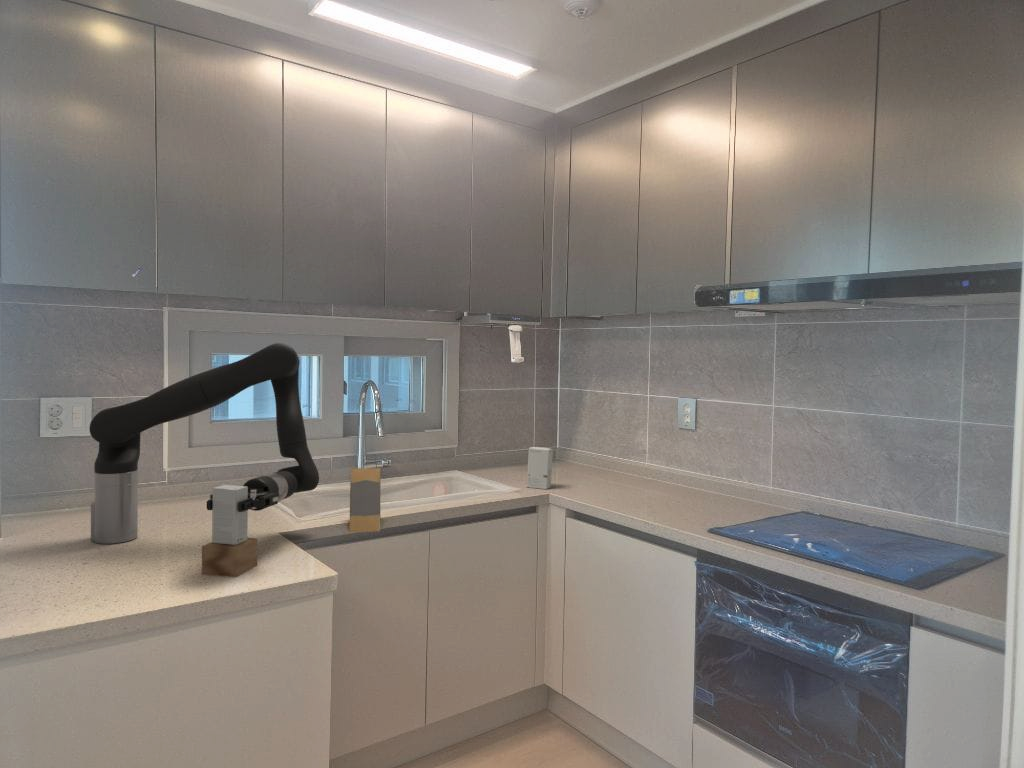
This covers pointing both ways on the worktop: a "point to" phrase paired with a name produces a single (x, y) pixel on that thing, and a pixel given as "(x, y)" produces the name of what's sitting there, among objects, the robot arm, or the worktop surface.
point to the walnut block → (229, 558)
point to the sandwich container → (365, 499)
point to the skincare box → (229, 515)
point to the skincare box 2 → (539, 467)
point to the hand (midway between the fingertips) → (224, 506)
